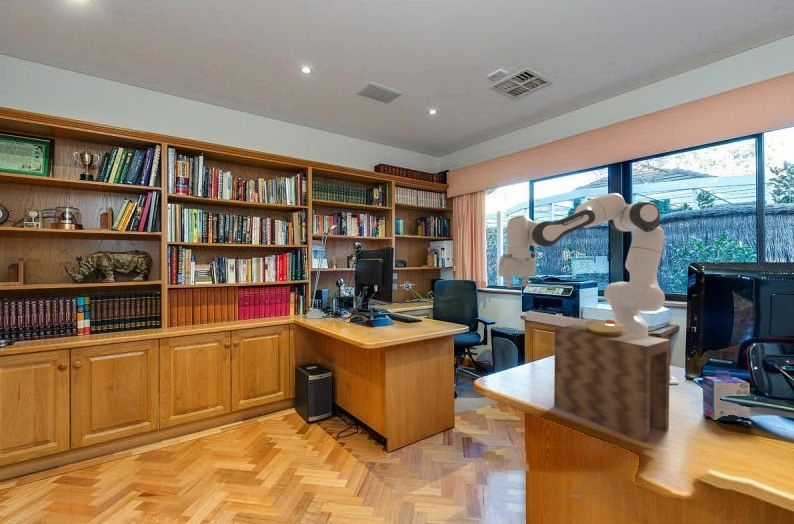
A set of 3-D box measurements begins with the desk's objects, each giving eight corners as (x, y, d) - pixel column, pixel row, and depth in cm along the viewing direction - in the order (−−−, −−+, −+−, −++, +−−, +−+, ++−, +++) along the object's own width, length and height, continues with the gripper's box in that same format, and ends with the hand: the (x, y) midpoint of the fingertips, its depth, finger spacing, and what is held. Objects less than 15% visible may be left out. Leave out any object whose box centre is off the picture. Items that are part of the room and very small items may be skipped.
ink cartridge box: (736, 415, 110) (736, 369, 110) (751, 423, 105) (752, 375, 104) (701, 413, 112) (701, 368, 111) (714, 421, 106) (714, 374, 106)
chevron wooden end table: (554, 406, 117) (554, 328, 116) (578, 397, 124) (578, 324, 124) (646, 442, 94) (647, 346, 94) (668, 429, 101) (669, 339, 101)
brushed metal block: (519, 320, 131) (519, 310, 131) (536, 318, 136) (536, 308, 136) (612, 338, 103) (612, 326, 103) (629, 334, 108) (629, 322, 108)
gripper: (506, 254, 141) (506, 288, 141) (538, 254, 152) (538, 286, 152) (494, 254, 146) (494, 287, 147) (526, 254, 157) (526, 285, 158)
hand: (517, 286), depth 150 cm, fingers open, 8 cm apart
